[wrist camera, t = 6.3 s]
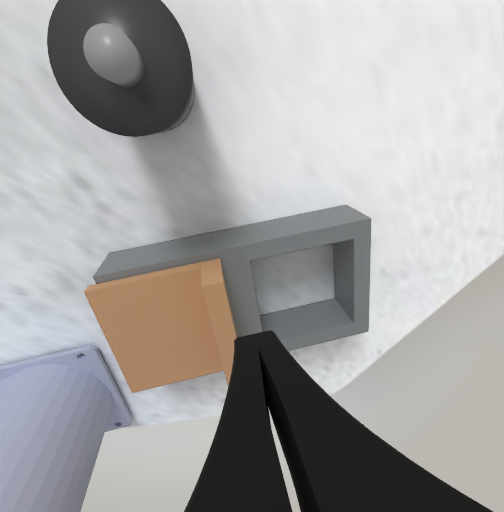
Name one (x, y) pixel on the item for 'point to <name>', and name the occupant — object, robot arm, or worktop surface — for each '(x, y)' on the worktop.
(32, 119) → the worktop surface
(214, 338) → the tan l-shaped bracket
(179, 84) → the plug
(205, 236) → the socket block
